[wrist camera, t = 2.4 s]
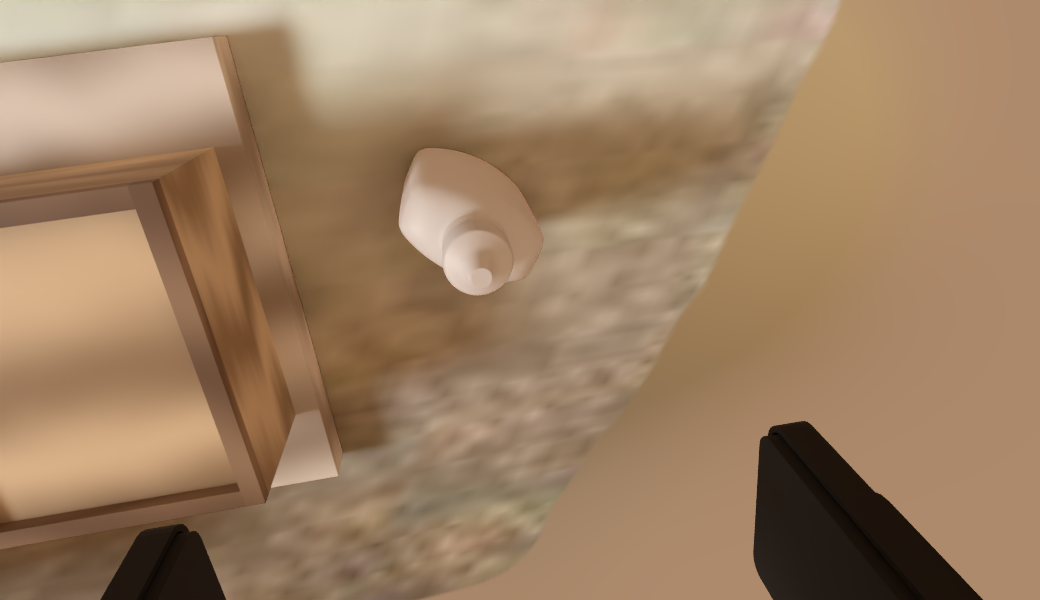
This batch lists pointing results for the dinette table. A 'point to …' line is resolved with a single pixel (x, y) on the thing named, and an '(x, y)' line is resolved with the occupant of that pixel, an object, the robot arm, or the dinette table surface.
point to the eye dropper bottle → (468, 220)
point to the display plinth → (144, 299)
